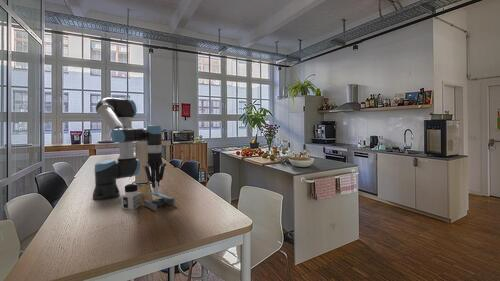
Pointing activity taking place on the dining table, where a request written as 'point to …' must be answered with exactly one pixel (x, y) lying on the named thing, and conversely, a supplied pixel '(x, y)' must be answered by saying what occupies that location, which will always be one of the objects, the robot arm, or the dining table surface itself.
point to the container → (131, 197)
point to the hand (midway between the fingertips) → (155, 192)
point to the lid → (159, 195)
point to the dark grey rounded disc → (158, 202)
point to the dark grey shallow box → (154, 206)
